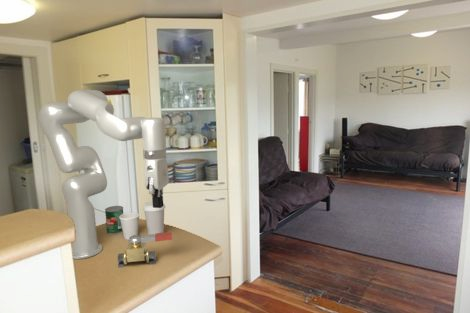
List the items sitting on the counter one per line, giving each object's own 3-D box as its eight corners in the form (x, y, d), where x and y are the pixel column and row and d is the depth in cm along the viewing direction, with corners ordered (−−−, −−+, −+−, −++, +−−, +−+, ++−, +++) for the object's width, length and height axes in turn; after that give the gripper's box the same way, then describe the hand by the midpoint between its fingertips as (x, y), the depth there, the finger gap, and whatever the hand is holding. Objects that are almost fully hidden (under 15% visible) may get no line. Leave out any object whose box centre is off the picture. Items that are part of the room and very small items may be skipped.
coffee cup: (154, 242, 143) (152, 208, 141) (140, 237, 149) (138, 204, 146) (171, 234, 151) (169, 202, 148) (157, 230, 156) (155, 199, 154)
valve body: (117, 268, 121) (115, 247, 119) (120, 261, 127) (118, 240, 125) (154, 265, 123) (153, 244, 121) (155, 257, 129) (154, 237, 127)
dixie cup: (120, 241, 144) (118, 219, 143) (121, 234, 152) (120, 213, 151) (140, 239, 146) (138, 217, 144) (141, 232, 154) (139, 211, 152)
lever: (172, 240, 124) (171, 235, 124) (129, 245, 121) (128, 240, 120) (171, 235, 128) (171, 230, 128) (130, 240, 125) (129, 235, 125)
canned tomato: (104, 234, 153) (102, 211, 151) (110, 228, 161) (108, 205, 159) (121, 234, 153) (119, 210, 151) (127, 227, 161) (125, 205, 159)
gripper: (157, 158, 105) (160, 214, 108) (173, 151, 120) (175, 201, 123) (134, 158, 106) (138, 213, 110) (153, 151, 121) (156, 200, 124)
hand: (158, 206), depth 116 cm, fingers closed
